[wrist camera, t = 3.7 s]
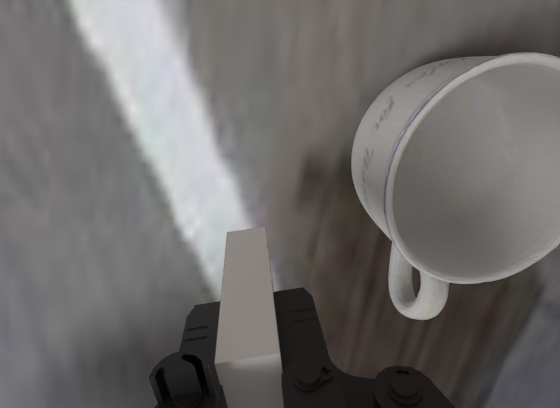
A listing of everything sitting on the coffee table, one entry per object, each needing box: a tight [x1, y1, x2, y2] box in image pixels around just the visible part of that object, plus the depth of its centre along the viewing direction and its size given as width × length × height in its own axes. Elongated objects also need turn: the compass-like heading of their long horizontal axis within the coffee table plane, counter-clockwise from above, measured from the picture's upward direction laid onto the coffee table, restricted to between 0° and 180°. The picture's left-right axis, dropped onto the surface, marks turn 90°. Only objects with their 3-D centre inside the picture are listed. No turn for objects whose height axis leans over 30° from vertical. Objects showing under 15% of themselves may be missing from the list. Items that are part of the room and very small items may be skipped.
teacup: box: [351, 52, 560, 320], centre depth 20 cm, size 14×11×8 cm
